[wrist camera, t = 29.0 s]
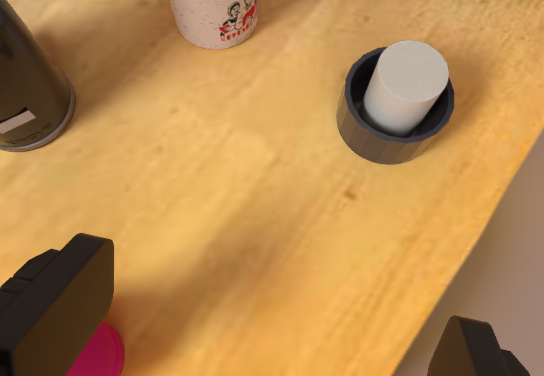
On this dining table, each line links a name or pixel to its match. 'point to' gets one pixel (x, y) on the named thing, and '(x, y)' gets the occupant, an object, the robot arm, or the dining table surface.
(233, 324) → the dining table surface
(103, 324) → the pepper mill
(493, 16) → the dining table surface
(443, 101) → the dark round open container
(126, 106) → the dining table surface
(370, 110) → the plain white cylinder
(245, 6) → the teacup with lid
